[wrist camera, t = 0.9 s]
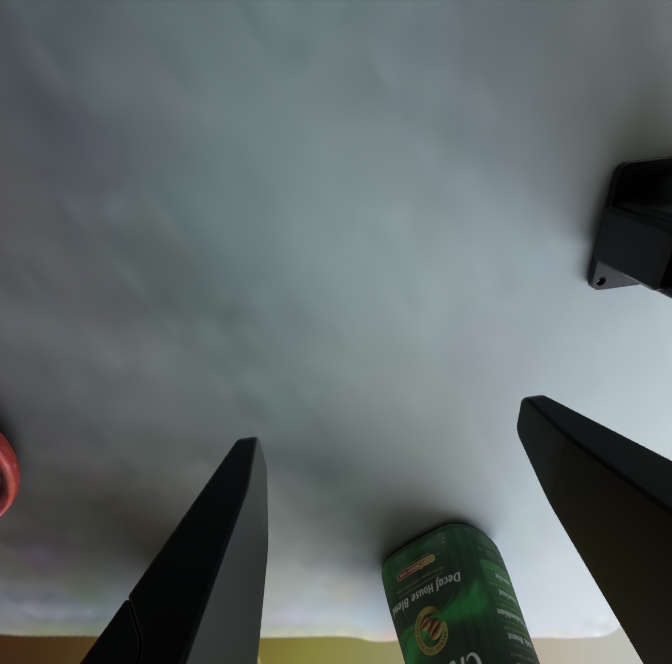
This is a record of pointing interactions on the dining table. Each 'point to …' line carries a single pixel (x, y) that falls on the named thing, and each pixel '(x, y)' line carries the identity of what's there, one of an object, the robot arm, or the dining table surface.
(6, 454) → the plant pot
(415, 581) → the coffee jar
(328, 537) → the dining table surface
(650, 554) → the robot arm
